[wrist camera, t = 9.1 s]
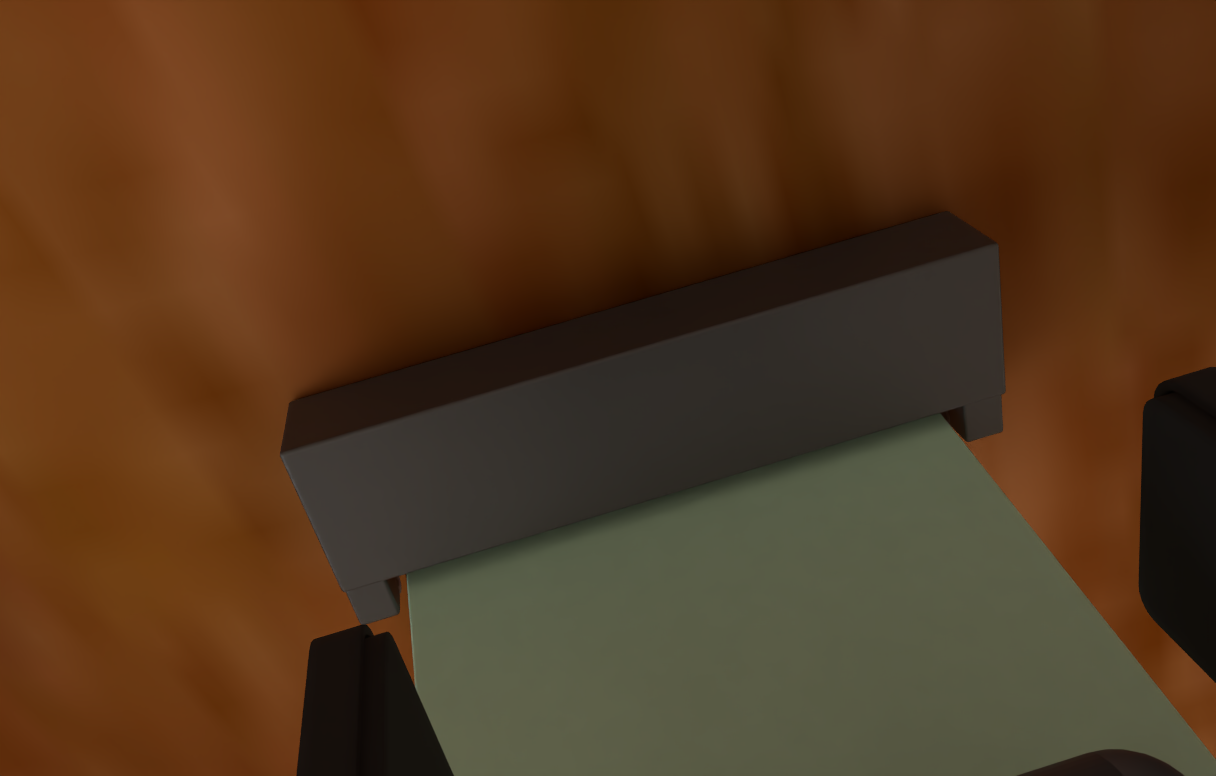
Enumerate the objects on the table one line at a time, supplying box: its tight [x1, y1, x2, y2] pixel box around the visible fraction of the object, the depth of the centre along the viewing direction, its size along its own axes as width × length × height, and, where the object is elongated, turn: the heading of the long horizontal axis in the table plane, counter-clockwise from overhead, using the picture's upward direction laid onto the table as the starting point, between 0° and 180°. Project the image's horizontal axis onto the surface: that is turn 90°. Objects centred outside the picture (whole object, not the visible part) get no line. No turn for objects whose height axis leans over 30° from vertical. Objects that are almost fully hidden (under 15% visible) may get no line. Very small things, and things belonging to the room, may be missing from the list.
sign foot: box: [280, 211, 1006, 625], centre depth 20 cm, size 4×13×2 cm, turn 103°
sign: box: [406, 413, 1216, 776], centre depth 14 cm, size 13×11×6 cm
